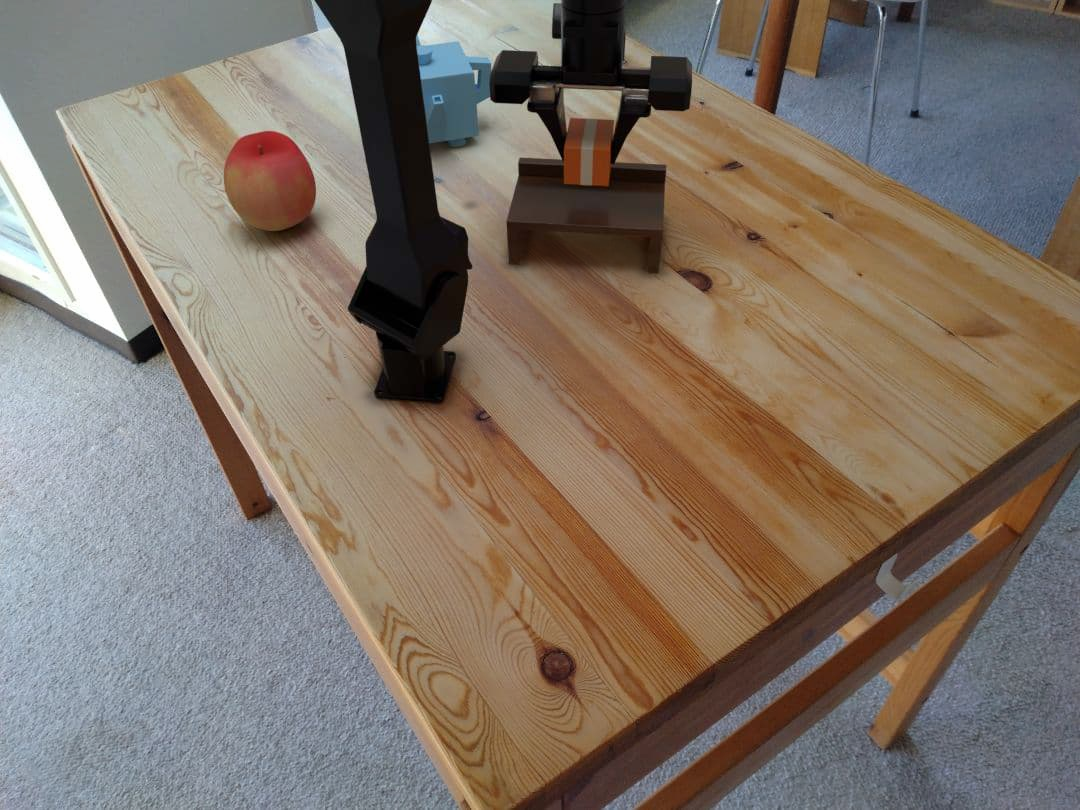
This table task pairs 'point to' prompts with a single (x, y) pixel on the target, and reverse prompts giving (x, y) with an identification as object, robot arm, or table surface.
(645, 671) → the table surface
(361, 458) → the table surface
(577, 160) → the package
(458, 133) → the teapot
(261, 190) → the apple
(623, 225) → the shelf
